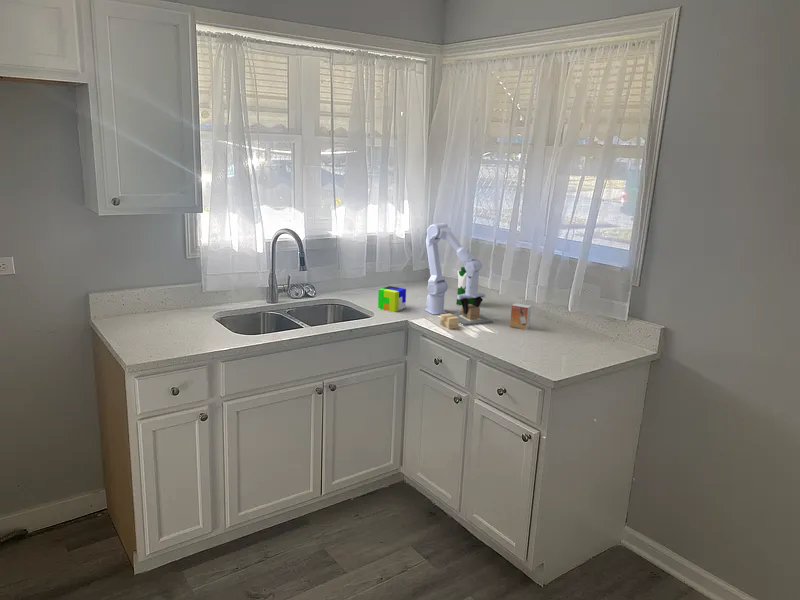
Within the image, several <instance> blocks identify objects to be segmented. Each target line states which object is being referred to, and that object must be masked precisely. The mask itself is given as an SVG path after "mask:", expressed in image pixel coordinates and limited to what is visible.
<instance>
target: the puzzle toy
mask: <svg viewBox="0 0 800 600" xmlns="http://www.w3.org/2000/svg"><path fill="white" fill-rule="evenodd" d="M377 295H378V297H377V299H378V300H377V309H378V308H380V309H379V310H382V309H385V310H384V311H387V310H389V311H388V312H392V311H393V312H392V313H396V312H398V310H399V311H402V310H404V309H406V302H407V301H406V300H407V298H406V297H407V288H403V287H397V286H393V285H392V286H391V285H389V286H385V287H382V288H378V293H377ZM403 308H404V309H403Z"/></svg>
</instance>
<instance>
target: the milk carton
mask: <svg viewBox="0 0 800 600" xmlns="http://www.w3.org/2000/svg"><path fill="white" fill-rule="evenodd" d="M466 277H467V275H466V270H465V266H462V267H460V270H457V278H458V279H457V295H460V294H464V293H466ZM457 295H456V296H457ZM468 301H469V304H472V305H474V303H473V298H468ZM455 304H456V305H458V304H459V305H458V306H460V305H462V304H461V301H460V300H459V299H457V298H456V303H455Z"/></svg>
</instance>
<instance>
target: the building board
mask: <svg viewBox="0 0 800 600" xmlns="http://www.w3.org/2000/svg"><path fill="white" fill-rule="evenodd" d="M451 314H452V315H454V316H456V317H458V318H459V323H458V324H460V323H461V324H460V325H462V324H463V325H462V326H464V325H467V326H473V325H472V324H476V325H484V323H485V324H493V323H494V320H492V319H491V318H488V317H486V316H484V315H483V314H480V313H479V318H478V319H469V318H467V317H465V316H463V315H461V313H454V314H453V313H451Z"/></svg>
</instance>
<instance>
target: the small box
mask: <svg viewBox="0 0 800 600" xmlns="http://www.w3.org/2000/svg"><path fill="white" fill-rule="evenodd" d="M510 310H511V311H510V320H509V327H510V328H516V329H520V330H525V331H526V330H527V329H529V328H530V324H531V323H530V322H531V315H532V314H531V313H532V305H529V304H523V303H517V302H514V303H513V304H511V308H510Z"/></svg>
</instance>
